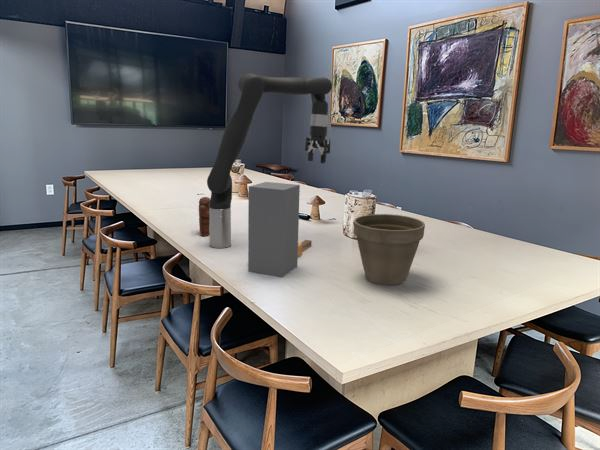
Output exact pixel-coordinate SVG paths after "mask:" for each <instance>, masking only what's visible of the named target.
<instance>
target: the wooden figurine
mask: <svg viewBox="0 0 600 450" xmlns="http://www.w3.org/2000/svg"><path fill="white" fill-rule="evenodd" d="M210 198H211V197H207V196H203V197H201V198H200V199H199V200H198V218H199V219H198V222H199V223H198V224H199V232H200V236H202V235H203V236H202V237H208V236H207V235H209V224H210V216H209V201H210Z"/></svg>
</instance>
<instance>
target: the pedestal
mask: <svg viewBox="0 0 600 450" xmlns="http://www.w3.org/2000/svg"><path fill="white" fill-rule="evenodd" d="M300 187H301V186H300V184H294V183H283V182H270V181H264V182H260V183H257V184H253V185H250V186H248V209H247V210H248V217H247V218H248V220H247V221H248V227H247V228H248V229H247V230H248V231H247V232H248V236H247V237H248V238H247V239H248V241H247V242H248V245H247V247H248V251H247V256H248V260H247V261H248V262H247V268H248V269H247V270H248V272H250V273H255V274H260V275H267V276H272V277H278V278H283V277H285V276H286V275H288V274H289V273H290V272H292V271H293V270H294V269H296V268H297V267H298V259H299V258H298V243H299V226H300V225H299V223H300V222H299V221H300V220H299V219H300V218H299V217H300V190H301V189H300Z"/></svg>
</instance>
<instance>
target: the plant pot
mask: <svg viewBox="0 0 600 450" xmlns="http://www.w3.org/2000/svg"><path fill="white" fill-rule="evenodd" d="M425 228H426V224H425V222H424V221H422V220H421V219H419V218H415V217H411V216H407V215H402V214H391V213H389V214H388V213H387V214H386V213H384V214H383V213H380V214H379V213H377V214H367V215H366V214H365V215H361V216H357V217H355V219H354V220H353V233H354V235H355V236H356V240H357V244H358V250H359V254H360V258H361V263H362V268H363V272H364V276H365V278H366V279H367V280H368V281H369V282H372V283H373V284H374V283H375V284H378V285H385V286H396V285H400V284H403V283H405V282H406V281H407V278H408V275H409V273H410V269H411V267H412V264H413V262H414V258H415V257H416V253H417V252H418V251H417V250H418V247H419V245H420V244H419V243H420V241H421V240H422V239H423V238H424V236H425V235H424V234H425V230H426V229H425Z"/></svg>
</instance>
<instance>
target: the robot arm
mask: <svg viewBox="0 0 600 450" xmlns="http://www.w3.org/2000/svg"><path fill="white" fill-rule="evenodd" d="M237 82H238V83H237V87H238V90H239V91H240V92H241V95H240V97H239V102H238V105H237V107H236V108H235V111H234V112H233V113H232V115H231V117H230V118H229V120H228V121H227V123H226V126H225V129H224V132H223V134H222V137H221V142H220V145H219V148H218V152H217V154H216V155H217V156H216V158H215V161H214V164H213V166H212V167H211V170H210V173H209V175H208V177H207V180H206V185H207V187H208V189H209V191H210V194H211V196H210V197H209V198H210V201H209V216H210V224H209V236H208V237H209V246H210V247H211V248H214V249H215V248H216V249H225V247H226V248H230V247H231V246H232V217H231V216H232V209H231V207H232V201H233V199H232V198H233V179H232V178H233V177H232V176H231V172H232V168H233V165H234V163H235V162H236V159H237V158H238V157H239V154H240V153H241V151H242V149H243V147H244V144H245V141H246V139H247V136H248V133H249V130H250V126H251V124H252V121H253V117H254V115H255V111H256V109H257V108H258V105H259V103H260V101H261V99H262V96H263V94H264V93H265V94H266V93H271V94H272V93H274V94H282V95H283V94H284V95H293V96H295V95H298V96H299V95H303V96H304V95H310V98H311V103H312V104H311V117H310V122H309V123H310V124H309V125H310V126H309V137H305V146H304V150H305V151H306V152H307V161H309V162H312V161H314V151H315V150H316V149H318V151H320V164H326V162H327V160H326V159H327V155H329V154H331V139H326V137H327V135H328V122H329V120H328V119H329V118H328V117H329V116H328V112H329V103H328V102H327V101H326V95H328V94H329V93H330V92H332V89H333V83H332V80H330V79H329V78H327V77H300V76H298V77H297V76H296V77H295V76H292V77H291V76H288V77H284V76H282V77H277V76H274V77H273V76H272V77H271V76H264V75H259V74H255V73H251V72H249V73H247V72H246V73H244V74H243V75H241V76H240V77H239V79H238V81H237Z"/></svg>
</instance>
